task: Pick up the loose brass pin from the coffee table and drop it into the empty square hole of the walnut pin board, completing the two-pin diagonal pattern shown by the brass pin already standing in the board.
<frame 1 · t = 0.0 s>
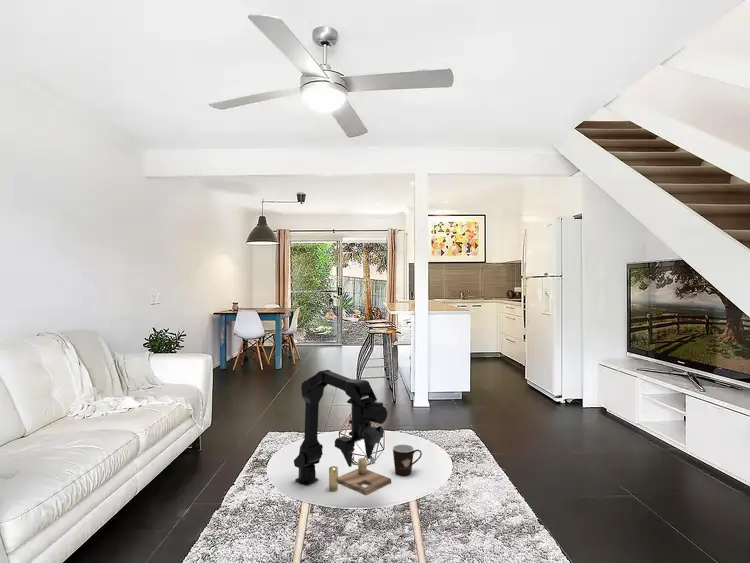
hand: (359, 462, 160), 15 cm above the table, fingers open, 9 cm apart
brass pin: (333, 489, 172), on the table
pin board: (363, 482, 178), on the table
coffee mug: (406, 473, 186), on the table
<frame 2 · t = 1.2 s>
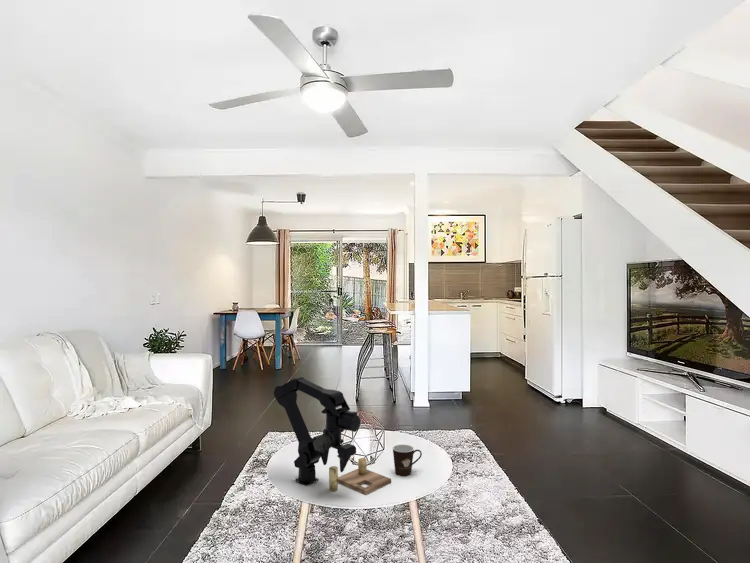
hand: (333, 468, 172), 8 cm above the table, fingers open, 9 cm apart
nothing on the table moved.
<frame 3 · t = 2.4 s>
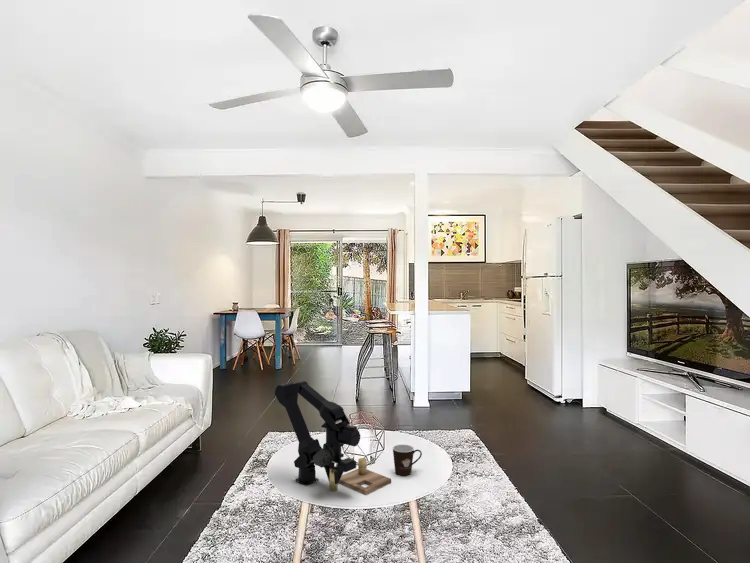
hand: (333, 482, 172), 3 cm above the table, fingers closed on brass pin, 3 cm apart
brass pin: (333, 489, 172), on the table, touching gripper
everything else where it was.
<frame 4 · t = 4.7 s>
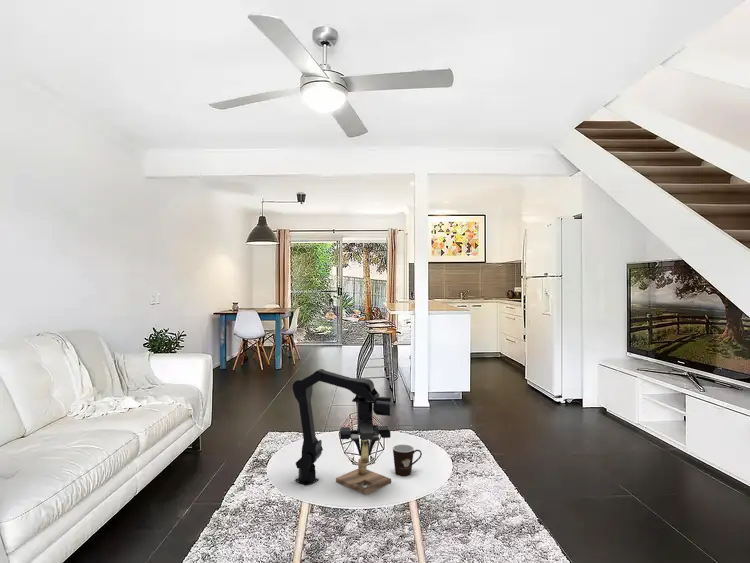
hand: (364, 455, 173), 12 cm above the table, fingers closed on brass pin, 3 cm apart
brass pin: (364, 462, 173), point 10 cm above the table, touching gripper
everything else where it was.
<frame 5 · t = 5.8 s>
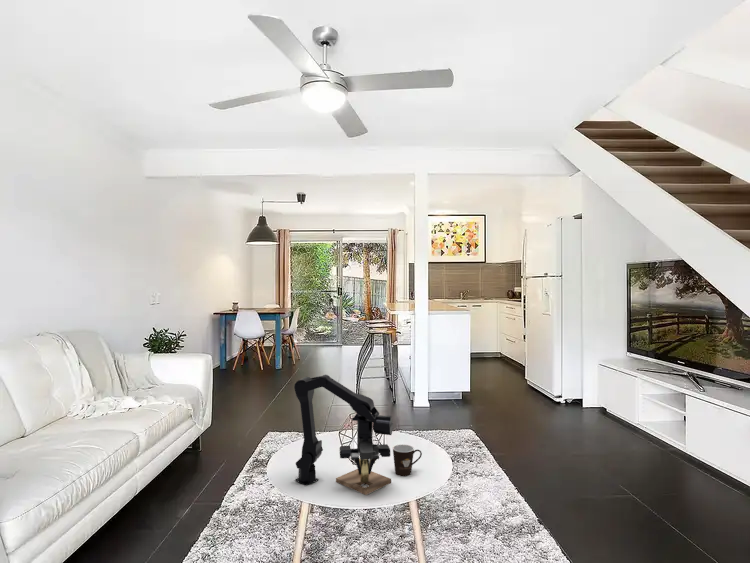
hand: (364, 474, 173), 5 cm above the table, fingers closed on brass pin, 3 cm apart
brass pin: (364, 480, 173), point 3 cm above the table, touching gripper
everything else where it was.
when the fingers open (3 cm above the table, at t = 6.9 s): brass pin stays where it is, resting in pin board.
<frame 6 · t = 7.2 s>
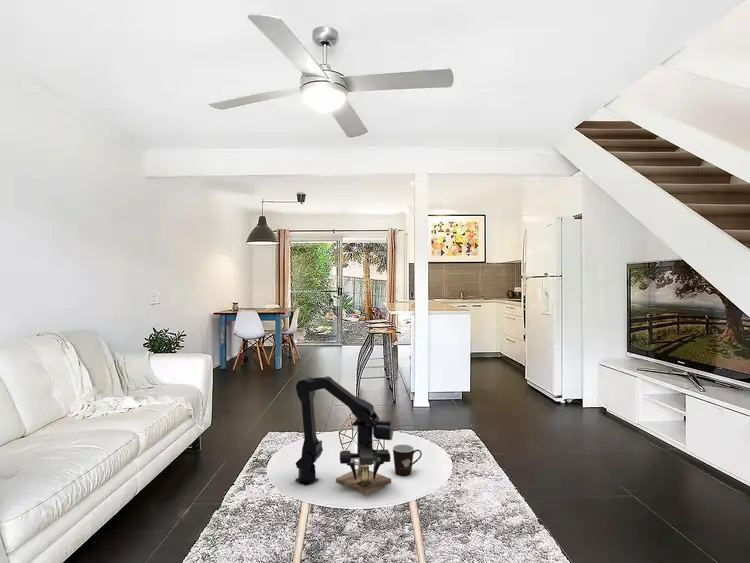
hand: (364, 479, 173), 3 cm above the table, fingers open, 7 cm apart
brass pin: (364, 487, 173), resting in pin board
everything else where it was.
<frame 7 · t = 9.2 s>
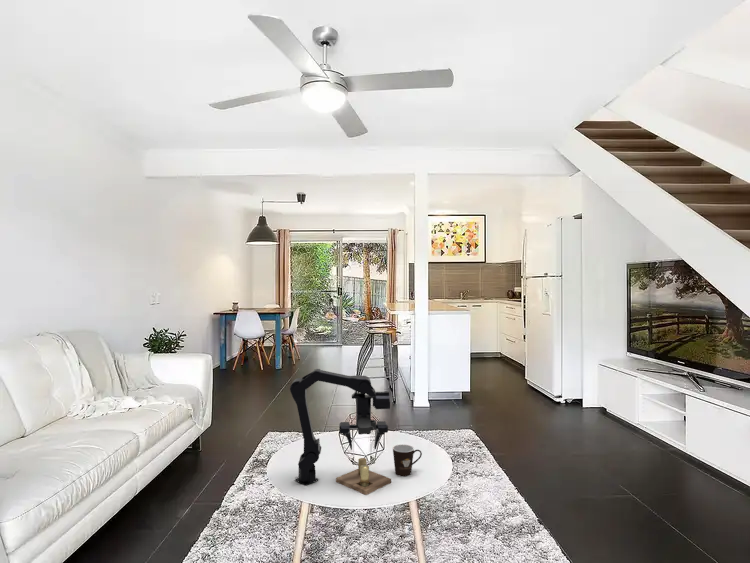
hand: (363, 449, 180), 12 cm above the table, fingers open, 9 cm apart
nothing on the table moved.
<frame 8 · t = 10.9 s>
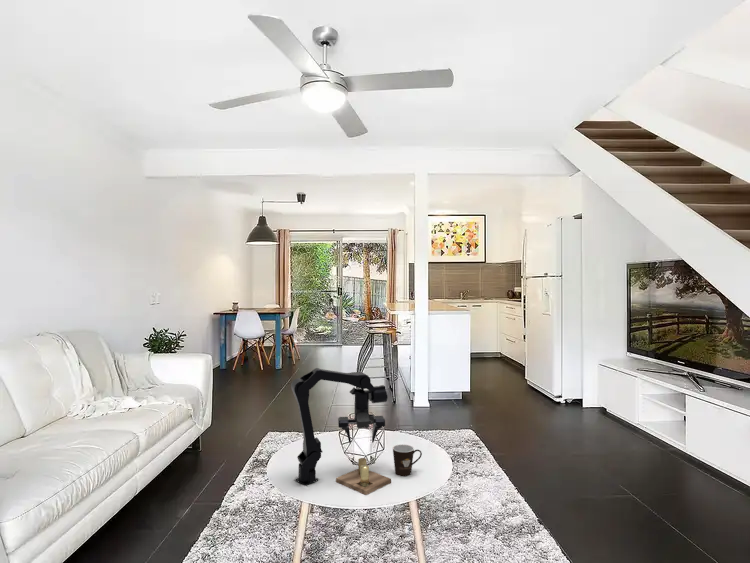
hand: (361, 442, 187), 12 cm above the table, fingers open, 9 cm apart
nothing on the table moved.
at the end: brass pin 0.1 cm from the target spot on the pin board, point 0.0 cm above the pin board's base; brass pin tilted 0°; the gripper is holding nothing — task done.
